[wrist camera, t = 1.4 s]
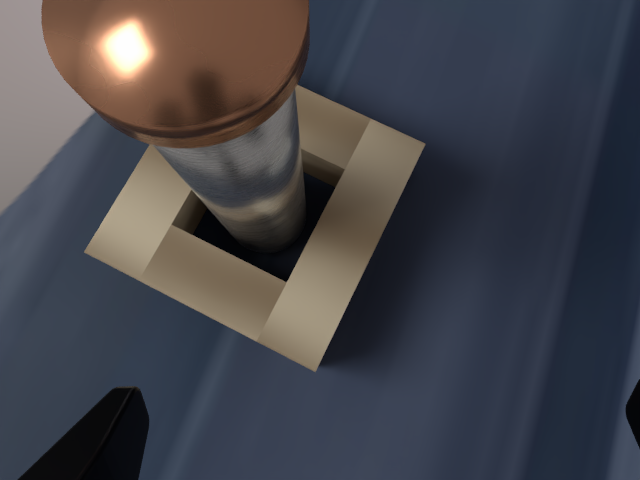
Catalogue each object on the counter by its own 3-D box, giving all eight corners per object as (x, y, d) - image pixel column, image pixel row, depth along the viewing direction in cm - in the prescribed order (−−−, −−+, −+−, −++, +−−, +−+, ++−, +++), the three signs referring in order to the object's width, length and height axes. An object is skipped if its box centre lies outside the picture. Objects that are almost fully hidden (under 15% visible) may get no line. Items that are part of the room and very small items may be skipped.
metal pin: (287, 278, 22) (228, 170, 8) (201, 235, 23) (-12, 54, 8) (331, 193, 23) (352, -49, 8) (247, 153, 24) (131, -144, 9)
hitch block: (315, 366, 21) (315, 372, 19) (114, 262, 22) (83, 252, 19) (412, 167, 23) (425, 143, 21) (223, 79, 24) (210, 45, 21)
